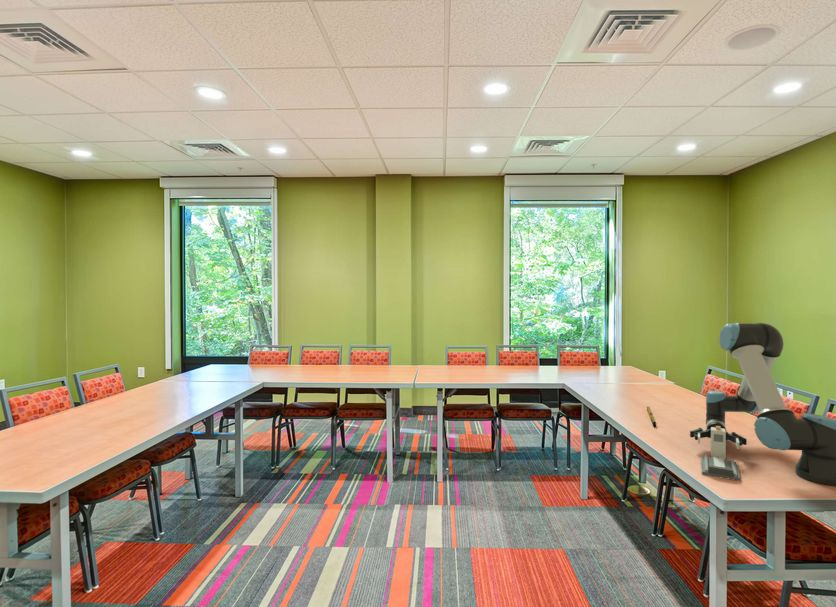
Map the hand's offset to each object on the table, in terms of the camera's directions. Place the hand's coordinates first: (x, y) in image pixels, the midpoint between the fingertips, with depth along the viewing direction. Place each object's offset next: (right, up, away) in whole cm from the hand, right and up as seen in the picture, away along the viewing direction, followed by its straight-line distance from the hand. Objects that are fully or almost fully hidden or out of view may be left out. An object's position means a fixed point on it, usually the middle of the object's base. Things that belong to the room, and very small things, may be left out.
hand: (718, 443), depth 183 cm
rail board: (-6, -7, -10) cm, 14 cm away
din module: (+2, -7, +2) cm, 8 cm away
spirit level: (+5, -6, +61) cm, 62 cm away
